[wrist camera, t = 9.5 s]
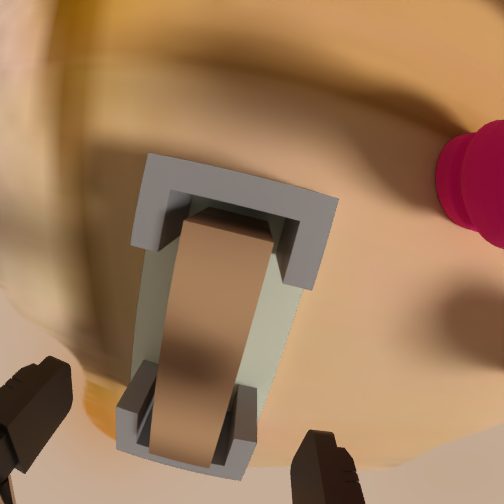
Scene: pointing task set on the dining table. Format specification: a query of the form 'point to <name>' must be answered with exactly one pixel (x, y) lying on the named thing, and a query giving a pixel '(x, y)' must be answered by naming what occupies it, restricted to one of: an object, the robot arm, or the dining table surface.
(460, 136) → the pepper mill
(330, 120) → the dining table surface
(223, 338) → the slat
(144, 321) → the holder
